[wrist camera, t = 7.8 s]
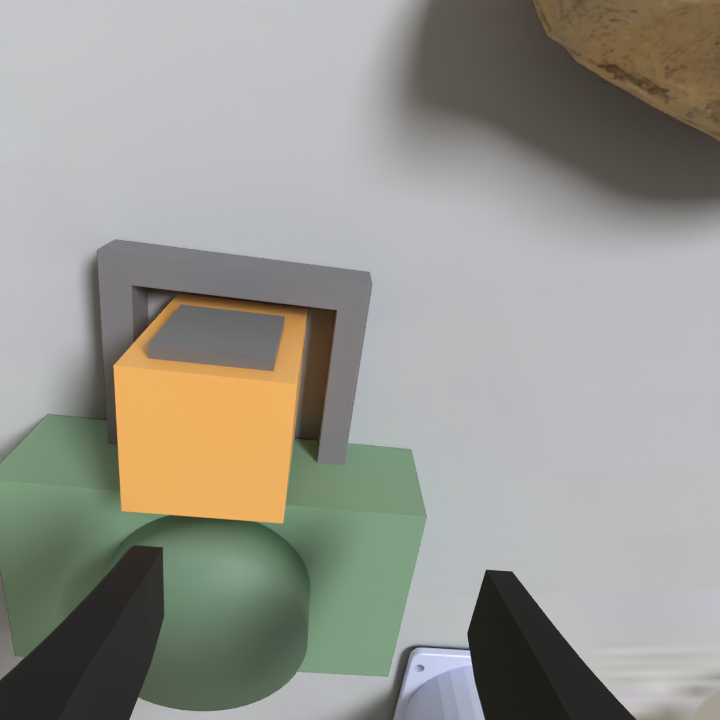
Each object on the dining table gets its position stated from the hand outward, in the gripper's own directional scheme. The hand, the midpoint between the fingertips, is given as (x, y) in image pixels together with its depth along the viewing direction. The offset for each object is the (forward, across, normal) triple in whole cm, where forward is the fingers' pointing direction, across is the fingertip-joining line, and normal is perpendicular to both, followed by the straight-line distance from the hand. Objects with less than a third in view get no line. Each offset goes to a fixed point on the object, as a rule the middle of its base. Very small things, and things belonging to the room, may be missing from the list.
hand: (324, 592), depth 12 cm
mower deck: (+9, +3, +2) cm, 10 cm away
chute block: (+9, +3, -1) cm, 10 cm away
